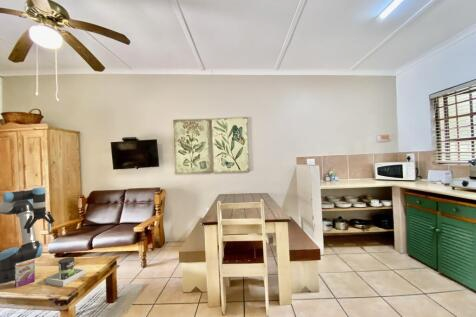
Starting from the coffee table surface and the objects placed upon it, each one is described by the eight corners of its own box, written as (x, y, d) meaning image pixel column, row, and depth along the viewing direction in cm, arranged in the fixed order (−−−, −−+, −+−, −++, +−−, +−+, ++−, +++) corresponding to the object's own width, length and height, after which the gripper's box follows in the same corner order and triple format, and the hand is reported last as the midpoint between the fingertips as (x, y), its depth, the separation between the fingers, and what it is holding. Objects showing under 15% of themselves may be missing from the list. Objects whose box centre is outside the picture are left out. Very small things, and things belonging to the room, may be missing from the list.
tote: (46, 283, 173) (45, 278, 173) (69, 271, 191) (69, 267, 191) (63, 286, 168) (63, 281, 168) (85, 274, 186) (85, 269, 186)
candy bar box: (15, 287, 168) (14, 266, 168) (15, 285, 172) (14, 263, 172) (35, 282, 176) (34, 261, 176) (35, 279, 180) (34, 259, 180)
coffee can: (78, 274, 184) (77, 257, 184) (66, 281, 174) (65, 263, 174) (67, 273, 186) (67, 256, 186) (55, 280, 176) (54, 262, 176)
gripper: (23, 211, 164) (24, 240, 164) (59, 204, 188) (60, 229, 188) (16, 210, 166) (17, 239, 167) (52, 204, 190) (53, 229, 190)
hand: (40, 234), depth 177 cm, fingers open, 13 cm apart
